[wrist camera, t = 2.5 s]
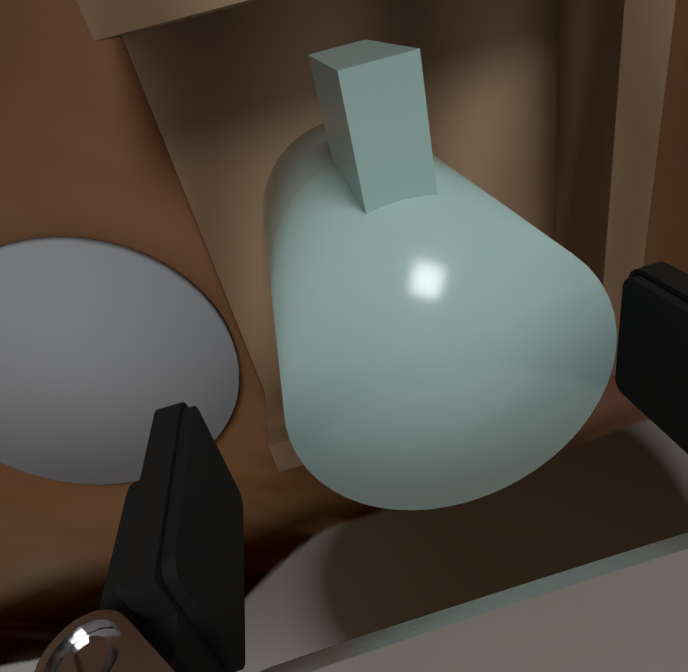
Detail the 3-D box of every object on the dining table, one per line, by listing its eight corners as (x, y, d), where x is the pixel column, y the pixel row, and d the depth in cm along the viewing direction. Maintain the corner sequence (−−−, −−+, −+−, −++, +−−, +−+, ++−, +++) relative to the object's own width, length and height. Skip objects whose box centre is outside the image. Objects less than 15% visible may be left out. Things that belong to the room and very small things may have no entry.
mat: (175, 197, 18) (173, 203, 18) (272, 433, 25) (273, 442, 24) (-156, 288, 18) (-167, 295, 17) (32, 502, 24) (28, 512, 24)
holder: (598, -153, 15) (700, -202, 12) (577, 322, 24) (630, 370, 21) (102, -24, 15) (61, -36, 11) (273, 408, 24) (279, 471, 21)
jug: (414, 13, 16) (650, 6, 7) (444, 265, 21) (604, 461, 12) (212, 67, 16) (169, 135, 7) (290, 308, 21) (329, 541, 11)
